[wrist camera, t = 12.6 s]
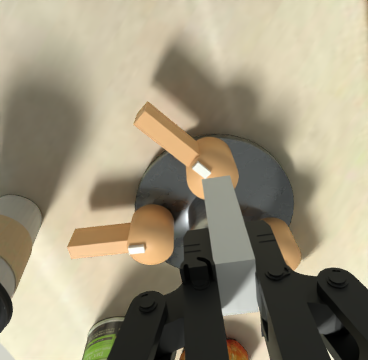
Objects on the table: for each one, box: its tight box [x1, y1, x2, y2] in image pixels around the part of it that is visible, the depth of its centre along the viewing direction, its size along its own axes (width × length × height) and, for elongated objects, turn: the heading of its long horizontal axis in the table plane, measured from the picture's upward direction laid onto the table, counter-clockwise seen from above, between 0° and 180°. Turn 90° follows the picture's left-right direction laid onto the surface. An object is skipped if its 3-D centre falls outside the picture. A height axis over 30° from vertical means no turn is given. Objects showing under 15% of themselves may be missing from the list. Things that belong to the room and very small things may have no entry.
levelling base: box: [135, 134, 294, 269], centre depth 36 cm, size 18×18×11 cm
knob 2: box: [133, 101, 239, 199], centre depth 33 cm, size 11×5×5 cm, turn 49°
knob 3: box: [261, 217, 301, 271], centre depth 40 cm, size 11×5×5 cm, turn 27°
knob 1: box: [67, 204, 174, 265], centre depth 37 cm, size 11×5×5 cm, turn 97°
